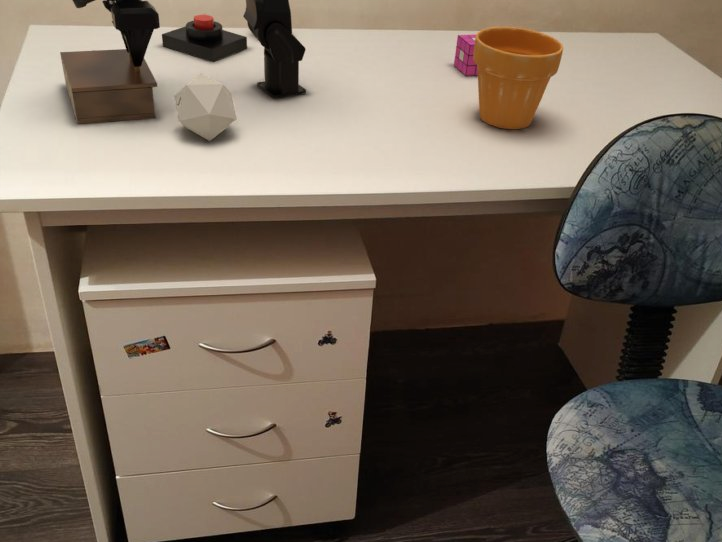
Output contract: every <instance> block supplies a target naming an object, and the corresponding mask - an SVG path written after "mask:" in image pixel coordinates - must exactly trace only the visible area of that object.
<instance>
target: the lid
mask: <svg viewBox="0 0 722 542" xmlns="http://www.w3.org/2000/svg"><path fill="white" fill-rule="evenodd" d="M123 35H124V34H123ZM124 38H125V36H124ZM125 40H126V39H125ZM128 50H129V49H128ZM59 54H60V59H61V58H62V60H61V63H62V62H63V65H64V68H65V71H66V74H67V78H68V81H69V84H70V87H71V90H72V92H83V91H98V90H114V89H130V88H145V87H152V88H157V87H158V81H156V79H155V76H154V74H153V73H152V71H151V69H150V67H149V65H148V63H147V61H146V59H145V58H144V59H143V62H142V65H141V66H140V67H135V66H134V65H133V62H132V59H131V55H130V52H129V53H128V52H127V50H126V48H119V49H99V50H98V49H97V50H96V49H95V50H76V51H60V52H59Z"/></svg>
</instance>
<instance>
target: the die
mask: <svg viewBox="0 0 722 542" xmlns="http://www.w3.org/2000/svg"><path fill="white" fill-rule="evenodd" d="M174 101H175V107H176V113H177V118H178V122H179V123H180V124H181V125H183V126H184V127H185V128H186V129H187V130H188V131H191V132H192V133H194V134H196V135H198V136H200V137H202V138H203V139H205V140H207V141H209V142H211V141H212V140H213V139H215V138H216V137H217V136H219V134H221V133H222V132H223V131H225V129H227V128H228V127H230V125H231V124H233V123H234V122H235V121H236V120H237V119H238V117H237V114H236V107H235V104H234V99H233V94H232V92H231V91H230V90H229V89H228V88H227V86H226V85H225V84H224V83H222V82H220V81H218V80H217V79H214V78H212V77H210V76H208V75H206V74H204V73H199V75H197V76H196V77H194V79H192V80H191V81H190V82H188V83H187V84H185V86H184V87H182V88H181V89H180V90H179V91H178V92H177V93H176V94H175V95H174Z"/></svg>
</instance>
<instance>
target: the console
mask: <svg viewBox="0 0 722 542" xmlns="http://www.w3.org/2000/svg"><path fill="white" fill-rule="evenodd" d="M161 41H162V47H164V48H167V49H171V50H173V51H177V52H180V53H183V54H186V55H190V56H193V57H197V58H199V59H203V60H206V61H209V62H212V63H214V62H216V61H219V60H222V59H224V58H228V57H229V56H232V55H235V54H237V53H239V52H243V51H245V50H247V49H248V36H245V35H241V34H239V33H235V32H231V31H228V30H224V28H223V25H222V24H221V23H220V22H219V21H215V20H214V28H211V29H198V28H195V27H194V20H191V21H188V22H186V24H185V25H184V26H182V27H179V28H176V29H173V30H170V31H167V32H164V33H161Z"/></svg>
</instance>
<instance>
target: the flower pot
mask: <svg viewBox="0 0 722 542" xmlns="http://www.w3.org/2000/svg"><path fill="white" fill-rule="evenodd" d="M475 35H476V38H475V45H474V53H473V60H474V62H475V64H476V65H477V69H478V75H477V87H478V88H477V89H478V90H477V91H478V109H479V111H478V113H479V118H480V120H482V121H483V122H484V123H486V124H487V125H490V126H493V127H496V128H500V129H504V130H505V129H506V130H520V129H524V128H527V127H529V126H530V125H531V123H532V121H533V119H534V117H535V115H536V112H537V110H538V108H539V106H540V104H541V101H542V98H543V97H544V94H545V92H546V89H547V87H548V85H549V82H550V80H551V78H552V77H553V76H555V75H556V74H557V73H558V72H559V71H558V70H559V68H560V64H561V61H562V56H563V52H564V46H563V44H562V42H561V41H560V40H558V39H557V38H555V37H553V36H551V35H549V34H547V33H544V32H540V31H537V30H533V29H529V28H522V27H514V26H513V27H512V26H493V27H487V28H483V29H480V30H479V31H478V32H477V33H476V34H475Z"/></svg>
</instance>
